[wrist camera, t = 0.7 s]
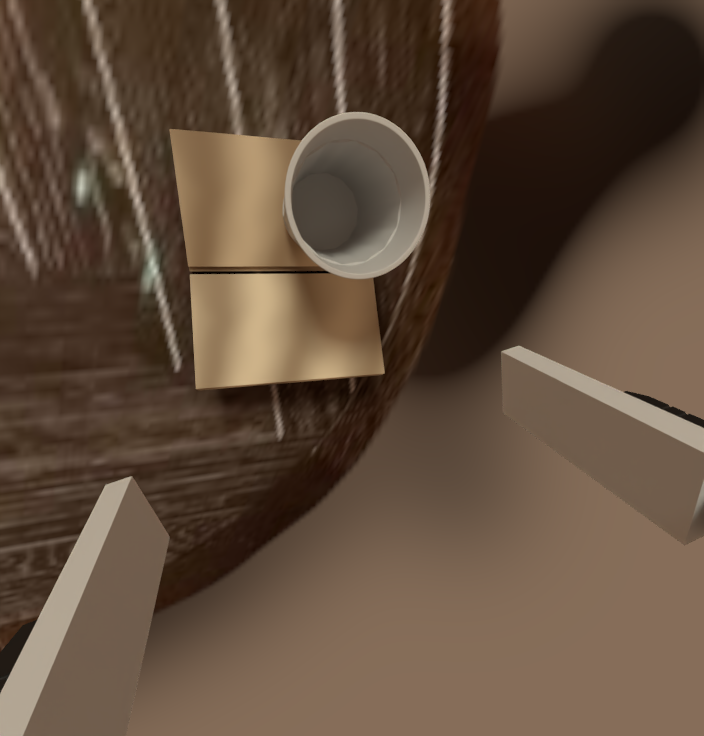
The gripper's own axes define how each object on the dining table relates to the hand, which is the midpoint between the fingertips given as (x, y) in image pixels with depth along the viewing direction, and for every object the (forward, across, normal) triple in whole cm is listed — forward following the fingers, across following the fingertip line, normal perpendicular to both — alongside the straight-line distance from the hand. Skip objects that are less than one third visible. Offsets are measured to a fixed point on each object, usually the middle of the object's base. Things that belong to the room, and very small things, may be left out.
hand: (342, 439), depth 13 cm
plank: (+19, 0, -2) cm, 19 cm away
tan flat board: (+22, +3, +8) cm, 23 cm away
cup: (+22, +5, +7) cm, 23 cm away
